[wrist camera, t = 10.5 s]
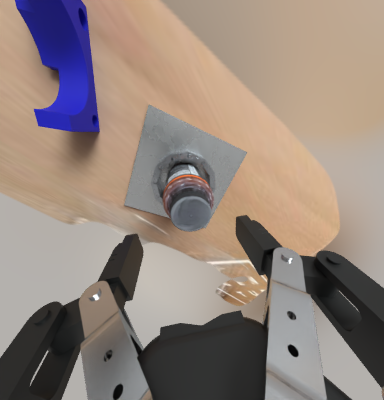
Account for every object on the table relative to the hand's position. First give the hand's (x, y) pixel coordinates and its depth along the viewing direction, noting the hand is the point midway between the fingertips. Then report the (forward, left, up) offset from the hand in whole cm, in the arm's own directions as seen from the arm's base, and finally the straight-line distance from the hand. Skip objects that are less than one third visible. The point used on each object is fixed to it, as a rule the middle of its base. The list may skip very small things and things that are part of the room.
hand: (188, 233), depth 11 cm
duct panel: (0, 0, -14) cm, 14 cm away
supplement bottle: (0, 0, -14) cm, 14 cm away
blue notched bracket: (-17, +8, -15) cm, 24 cm away
